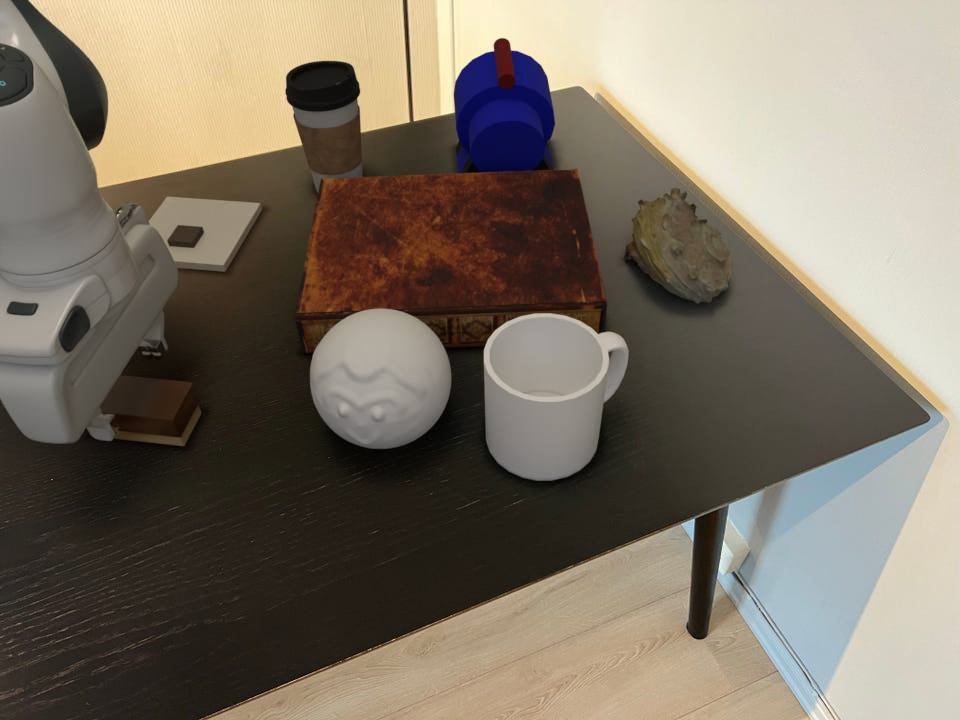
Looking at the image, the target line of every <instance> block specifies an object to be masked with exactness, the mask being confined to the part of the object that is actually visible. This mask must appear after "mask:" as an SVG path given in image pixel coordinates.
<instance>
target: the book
mask: <svg viewBox="0 0 960 720" xmlns="http://www.w3.org/2000/svg"><path fill="white" fill-rule="evenodd" d="M593 237H594V236H593V233H592V229H591V224H590V220H589V215H588V209H587V206H586V202H585V197H584V192H583V188H582V183H581V179H580V175H579V170H578V168H568V169H566V168H565V169H564V168H563V169H554V170H535V171H508V172H482V173H458V172H457V173H455V172H454V173H433V174H408V175H407V174H406V175H404V174H403V175H382V176H381V175H380V176H379V175H378V176H363V177H349V178H323V179H321V181H320V186H319V191H318V193H317V197H316V202H315V207H314V213H313V217H312V222H311V227H310V233H309V238H308V244H307V248H306V254H305V259H304V264H303V270H302V274H301V278H300V279H301V280H300V285H299V290H298V295H297V300H296V305H295V310H294V316H293V318H294V321H295V325H296V328H297V329H296V330H297V333H298V337H299V340H300V344H301V349H302V353H303V354H304V355H306V354H307V355H309V354H311V355H313V354H314V351H315V349H316V347H317V346H318V345H319V343H320V342H321V340H322V339H323V337H324V336H325V335H326V334H327V333H328V332H329V330H330V329H331V328H333V327H334V326H335V325H336V324H337V323H339V322H340V321H341V320H343V319H345V318H346V317H348V316H350V315H352V314H355V313H358V312H361V311H365V310H370V309H392V310H397V311H401V312H404V313H407V314H409V315H411V316H413V317H415V318H417V319H419V320H420V321H422V322H423V323H424V324H426V325H427V326H428V327H429V328H430V329H431V330H432V331H433V332H434V333H435V334H436V336H437V337H438V338H439V340H440V341H441V343H442V345H443V346H444V348H445V349H460V348H462V349H463V348H485V346H486V343H487V340H488V339H489V337H490V336H491V335H492V334H493V333H494V331H495V330H496V329H498V328H499V327H500V326H502V325H503V324H505V323H506V322H508V321H510V320H513V319H515V318H518V317H520V316H525V315H530V314H539V313H551V314H558V315H564V316H568V317H570V318H573V319H576V320H579V321H581V322H583V323H584V324H586V325H587V326H589V327H591V328H592V329H593V330H594V331H595V332H596V333H597V334H600V333H604V332H605V324H606V316H607V308H608V302H607V296H606V293H605V292H606V291H605V288H604V284H603V278H602V275H601V270H600V266H599V265H600V264H599V260H598V255H597V251H596V247H595V242H594V238H593Z"/></svg>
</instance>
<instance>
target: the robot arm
mask: <svg viewBox="0 0 960 720" xmlns="http://www.w3.org/2000/svg"><path fill="white" fill-rule="evenodd" d="M108 117H109V95H108V90H107V86H106V83H105V81H104V78H103V77H102V75H101V73H100V71H99V69H98V68H97V67H96V65H95V64H94V62H93V61H92V59H90V57H89V56H88V55H87V54H86V53H85V52H84V51H83V50H82V49H81V48H80V46H78V45H77V44H76V43H75V42H74V41H73V40H72V39H71V38H69V37H68V35H66V34H65V33H64V32H63V31H62V30H60V29H59V28H58V27H57V26H56V25H54V24H53V23H52V21H50V20H49V19H48V18H47V17H46V16H45V15H43V13H42V12H40V10H38V9H37V7H36V6H35V5H34V4H33V3H32V2H31V1H30V0H0V401H1V403H2V406H3V407H4V409H5V410H6V412H7V413H8V415H9V416H10V418H11V419H12V421H13V423H14V424H15V426H16V427H17V428H18V430H19V431H20V432H21V433H22V435H24V437H26V438H27V439H29V440H31V441H35V442H39V443H46V444H54V445H55V444H56V445H58V444H59V445H60V444H61V445H65V444H75V443H76V442H78V441H79V440H80V438H81V437H82V436H83V434H84V432H85V430H87V428H88V430H89V431H90V433H91V434H92V436H91V437H92V438H93V439H95V440H98V441H105V442H112V441H113V440H114V437H115V434H116V433H117V431H118V429H119V428H120V426H121V425H120V423H118V421H117V418H116V416H115V415H114V414H105V415H103V414H102V413H101V409H100V405H101V404H102V402H103V401H104V399H105V398H106V396H107V395H108V393H109V391H110V390H111V388H112V387H113V385H114V384H115V382H116V381H117V379H118V377H119V376H120V375H122V373H123V371H124V370H125V368H126V367H127V365H128V364H129V362H130V360H131V359H132V357H133V356H134V354H135V353H136V351H137V349H139V351H141V355H142V357H144V359H146V360H149V361H152V360H155V361H161V360H162V359H163V357H164V355H166V352H167V351H168V350H169V346H168V344H167V341H166V339H165V313H164V311H163V309H164V308H165V306H166V305H167V303H168V301H169V300H170V298H171V296H173V293H174V292H175V290H176V289H177V288H178V285H179V268H177V266H176V264H175V262H174V259H173V257H172V255H171V253H170V251H169V249H168V247H167V246H166V244H165V242H164V240H163V238H162V237H161V235H160V234H159V232H158V231H157V230H156V229H155V228H154V227H153V226H151V225H150V224H149V219H148V216H147V213H146V211H145V209H144V208H143V206H142V205H139V204H137V203H135V202H130V203H129V202H128V203H127V202H123V203H122V204H120V205H119V206H118V207H117V208H116V209H115V211H114V209H113V208H112V207H111V206H110V204H109V203H108V202H107V201H106V199H104V197H103V196H102V194H101V192H100V189H99V186H98V185H99V184H98V174H97V169H96V166H95V163H94V161H93V158H92V156H91V153H90V151H92V150H93V149H96V148H97V147H98V146H100V144H101V142H102V141H103V138H104V135H105V133H106V127H107V123H108ZM86 427H87V428H86ZM88 430H87V431H88ZM90 433H89V434H90Z"/></svg>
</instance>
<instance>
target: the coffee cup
mask: <svg viewBox="0 0 960 720" xmlns="http://www.w3.org/2000/svg"><path fill="white" fill-rule="evenodd" d="M360 94H361V87H360V82H359V81H358V79H357V75H356V72H355V68H354V66H353V65H352V64H351V63H349V62H345V61H339V60H317V61H311V62H306V63H302V64H300V65H297V66H295V67H294V68H292V69H290V70H289V71H288V72H287V74H286V76H285V96H286V101H287V103H288V104H289V105H290V106H291V107H292V111H293V115H292V116H293V120H294V124H295V126H296V130H297V133H298V136H299V139H300V142H301V146H302V148H303V152H304V155H305V158H306V161H307V165H308V168H309V171H310V174H311V177H312V181H313V184H314V188H315V190H316V193H317V194H318V191H319V186H320V181H321V179H323V178H349V177H364V175H363V174H364V173H363V161H362V160H363V153H362V150H363V149H362V131H361V130H362V128H361V107H360V106H359V104H358V103H359V102H358V101H359V100H358V98H359V96H360Z"/></svg>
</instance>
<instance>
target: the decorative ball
mask: <svg viewBox="0 0 960 720" xmlns="http://www.w3.org/2000/svg"><path fill="white" fill-rule="evenodd" d="M309 368H310V369H309V386H310V393H311V397H312V400H313V401H312V402H313V403H314V406H315V408H316V411H317V412H318V414H319V416H320V418H321V419H322V420H323V422H324V423H325V424H326V425H327V426H328V427H329V429H331V430H332V431H333V432H334V433H335V434H336V435H337V436H339V437H340V438H341V439H343V440H345V441H347V442H349V443H351V444H354V445H356V446H359V447H363V448H367V449H374V450H375V449H376V450H386V449H394V448H395V449H396V448H399V447H402V446H405V445H407V444H410V443H412V442H414V441H416V440H418V439H419V438H421V437H422V436H423V435H425V434H426V433H427V432H429V430H430V429H432V428H433V426H434V425H435V424H436V423H437V421H438V420H440V418H441V416H442V414H443V413H444V411H445V409H446V407H447V403H448V401H449V398H450V394H451V388H452V369H451V368H452V367H451V364H450V359H449V356H448V353H447V351H446V348H444V346H443V345H442V343H441V341H440V340H439V338H438V337H437V336H436V334H435V333H434V332H433V331H432V330H431V329H430V328H429V327H428V326H427V325H426V324H424V323H423V322H422V321H420V320H419V319H417V318H415V317H413V316H411V315H409V314H407V313H404V312H401V311H397V310H392V309H370V310H365V311H361V312H358V313H355V314H352V315H350V316H348V317H346V318H345V319H343V320H341V321H340V322H339V323H337V324H336V325H335V326H334V327H333V328H331V329H330V330H329V332H328V333H327V334H326V335H325V336H324V337H323V339H322V340H321V342H320V343H319V345H318V346H317V347H316V349H315V351H314V353H312V358H311V362H310V367H309Z"/></svg>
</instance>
